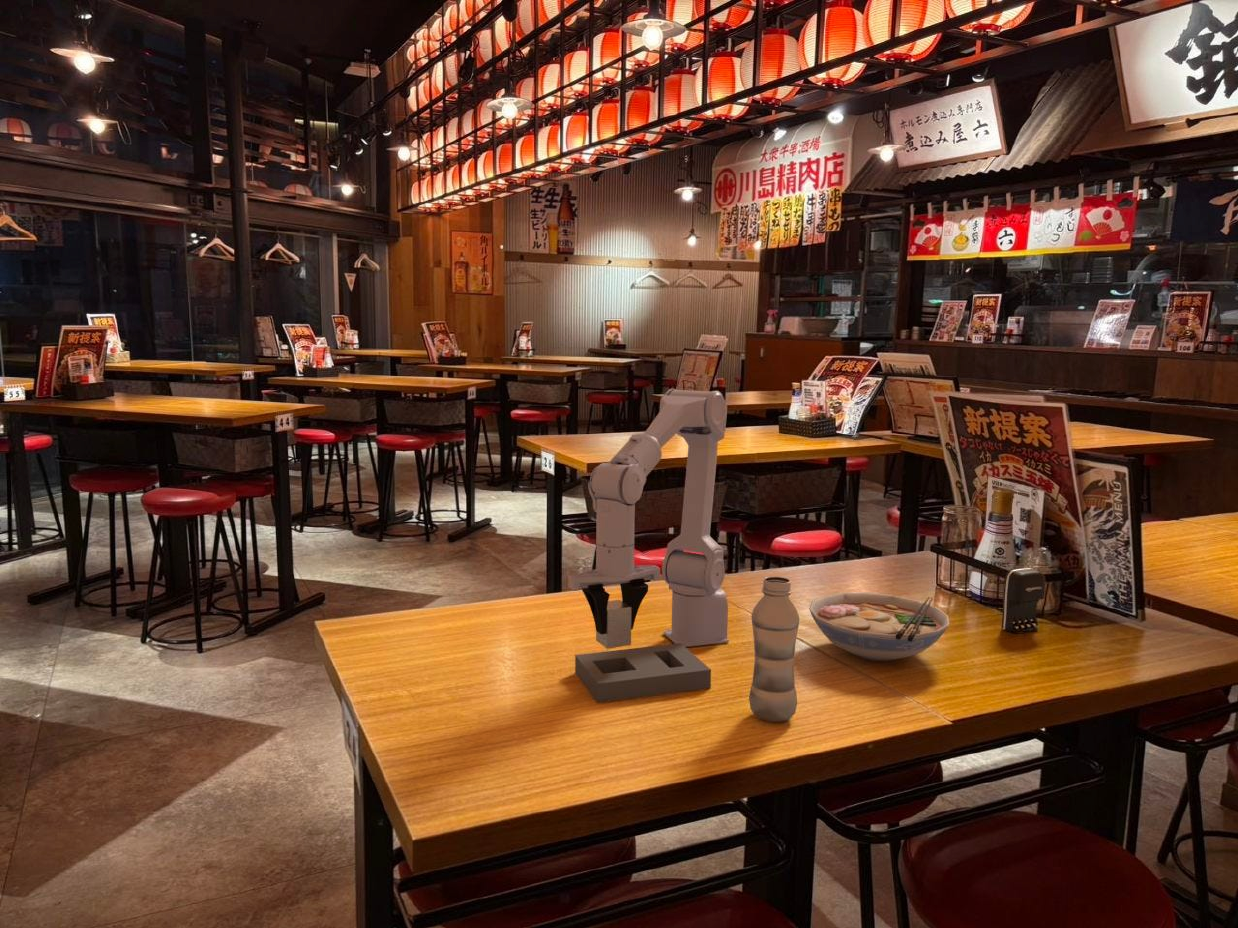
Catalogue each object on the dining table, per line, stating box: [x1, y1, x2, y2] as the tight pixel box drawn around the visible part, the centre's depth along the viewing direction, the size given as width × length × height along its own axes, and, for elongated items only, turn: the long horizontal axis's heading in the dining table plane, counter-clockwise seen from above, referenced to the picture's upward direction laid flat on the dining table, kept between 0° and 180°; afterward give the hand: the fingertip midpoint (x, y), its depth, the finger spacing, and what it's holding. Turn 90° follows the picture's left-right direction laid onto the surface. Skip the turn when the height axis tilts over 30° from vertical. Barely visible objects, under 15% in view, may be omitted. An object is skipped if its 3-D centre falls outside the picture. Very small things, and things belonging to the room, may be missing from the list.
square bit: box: [595, 599, 632, 650], centre depth 133 cm, size 4×4×6 cm
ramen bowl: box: [808, 592, 950, 662], centre depth 147 cm, size 25×23×8 cm
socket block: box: [574, 643, 712, 704], centre depth 135 cm, size 18×12×3 cm, turn 109°
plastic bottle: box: [748, 576, 800, 723], centre depth 121 cm, size 6×7×20 cm
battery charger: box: [1001, 567, 1046, 634], centre depth 159 cm, size 7×4×11 cm, turn 111°
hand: (614, 630), depth 132 cm, fingers closed on square bit, 4 cm apart
